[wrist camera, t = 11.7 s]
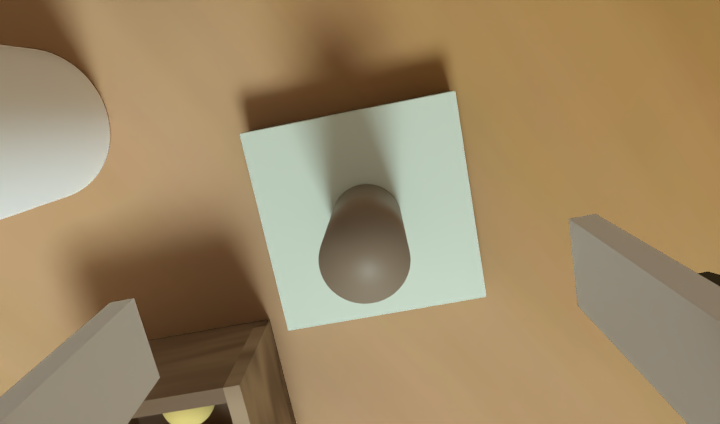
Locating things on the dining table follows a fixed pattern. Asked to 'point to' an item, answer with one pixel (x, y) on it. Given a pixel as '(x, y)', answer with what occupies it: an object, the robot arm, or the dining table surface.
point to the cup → (47, 129)
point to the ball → (189, 415)
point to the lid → (367, 211)
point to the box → (219, 377)
